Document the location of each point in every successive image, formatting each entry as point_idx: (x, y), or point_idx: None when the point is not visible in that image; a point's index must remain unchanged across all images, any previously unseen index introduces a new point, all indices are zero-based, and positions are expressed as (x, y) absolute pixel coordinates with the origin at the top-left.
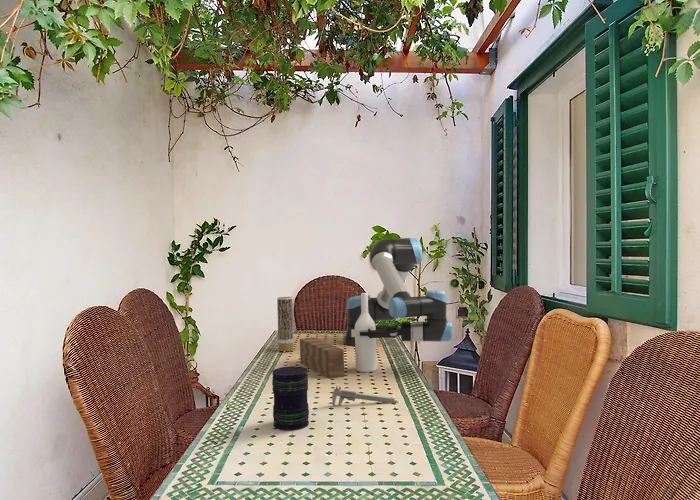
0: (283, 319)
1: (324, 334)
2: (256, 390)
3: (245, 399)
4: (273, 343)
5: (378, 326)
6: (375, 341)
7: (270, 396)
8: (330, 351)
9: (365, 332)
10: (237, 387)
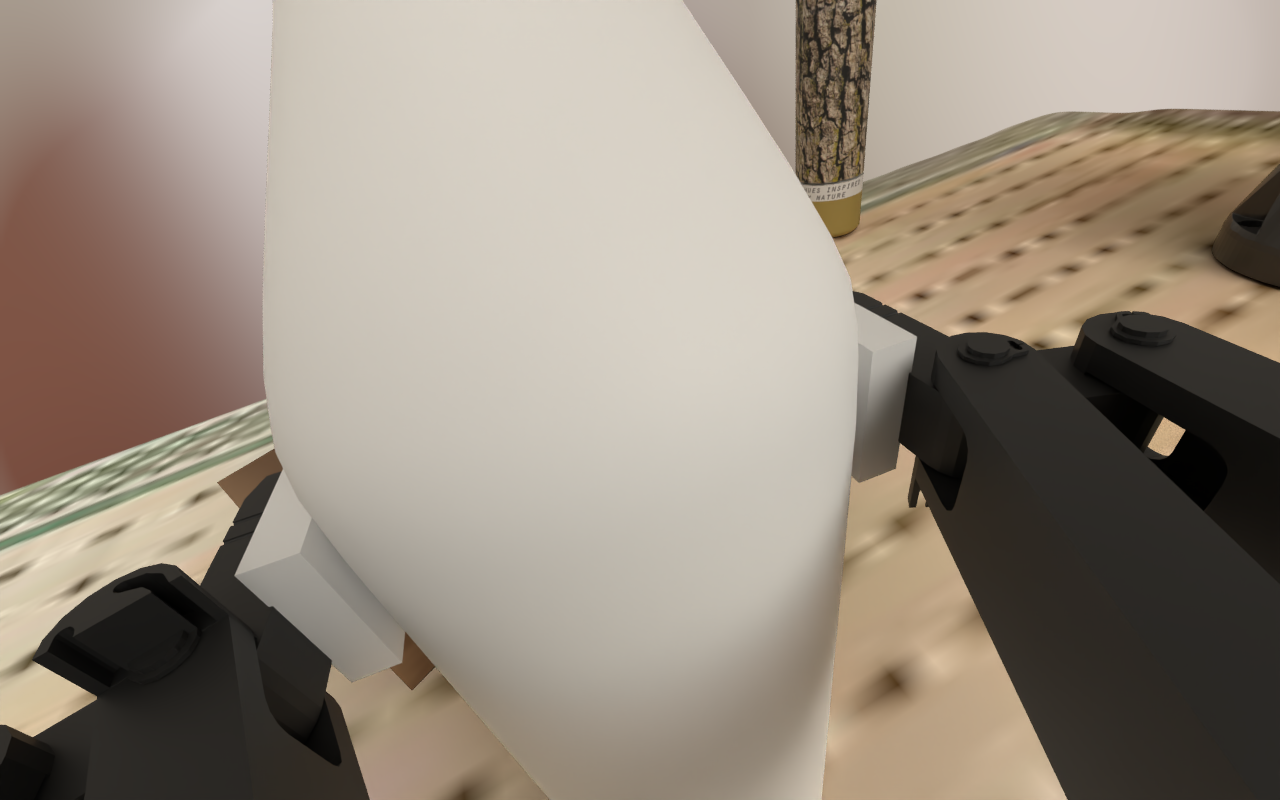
0: (802, 79)
1: (1225, 144)
2: (184, 465)
3: (44, 508)
4: (891, 176)
5: (1120, 485)
6: (683, 792)
7: (36, 560)
8: (223, 489)
9: (205, 588)
10: (257, 402)
